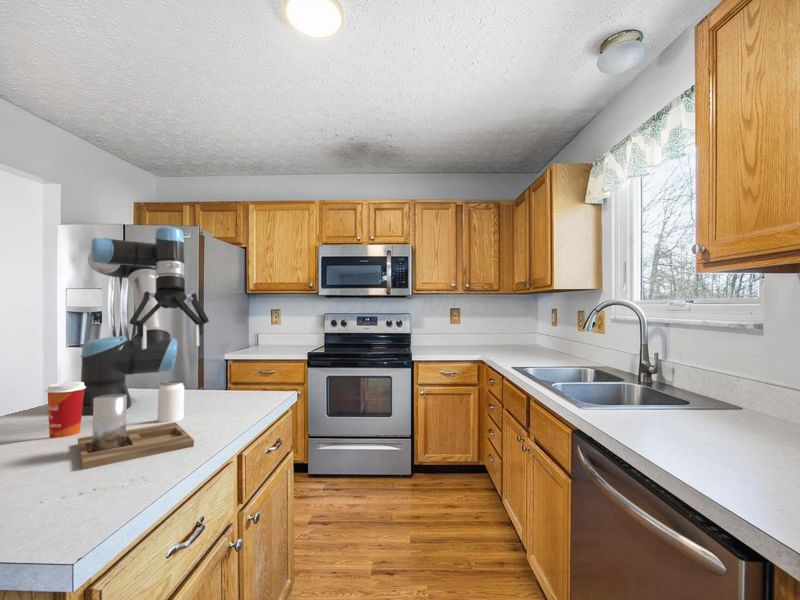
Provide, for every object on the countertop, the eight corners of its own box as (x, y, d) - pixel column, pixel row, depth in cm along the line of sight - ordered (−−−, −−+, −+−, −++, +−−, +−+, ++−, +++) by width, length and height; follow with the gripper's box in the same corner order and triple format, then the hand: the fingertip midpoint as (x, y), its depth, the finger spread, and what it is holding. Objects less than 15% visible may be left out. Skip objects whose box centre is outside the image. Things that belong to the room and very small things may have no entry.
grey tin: (90, 450, 86) (92, 396, 86) (123, 444, 90) (125, 392, 90) (92, 458, 82) (94, 401, 82) (127, 451, 86) (128, 397, 86)
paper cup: (45, 438, 97) (47, 383, 98) (84, 432, 102) (86, 380, 102) (42, 447, 91) (44, 388, 92) (84, 440, 96) (86, 384, 96)
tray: (77, 451, 89) (77, 438, 89) (175, 433, 103) (175, 422, 103) (82, 477, 76) (82, 461, 76) (193, 452, 89) (193, 439, 89)
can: (174, 427, 107) (176, 384, 108) (152, 427, 108) (153, 384, 108) (188, 421, 114) (189, 380, 114) (166, 420, 114) (167, 380, 114)
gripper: (121, 271, 105) (121, 348, 102) (217, 277, 122) (220, 344, 119) (118, 277, 111) (117, 351, 107) (210, 282, 128) (212, 346, 124)
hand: (171, 347), depth 113 cm, fingers open, 13 cm apart
